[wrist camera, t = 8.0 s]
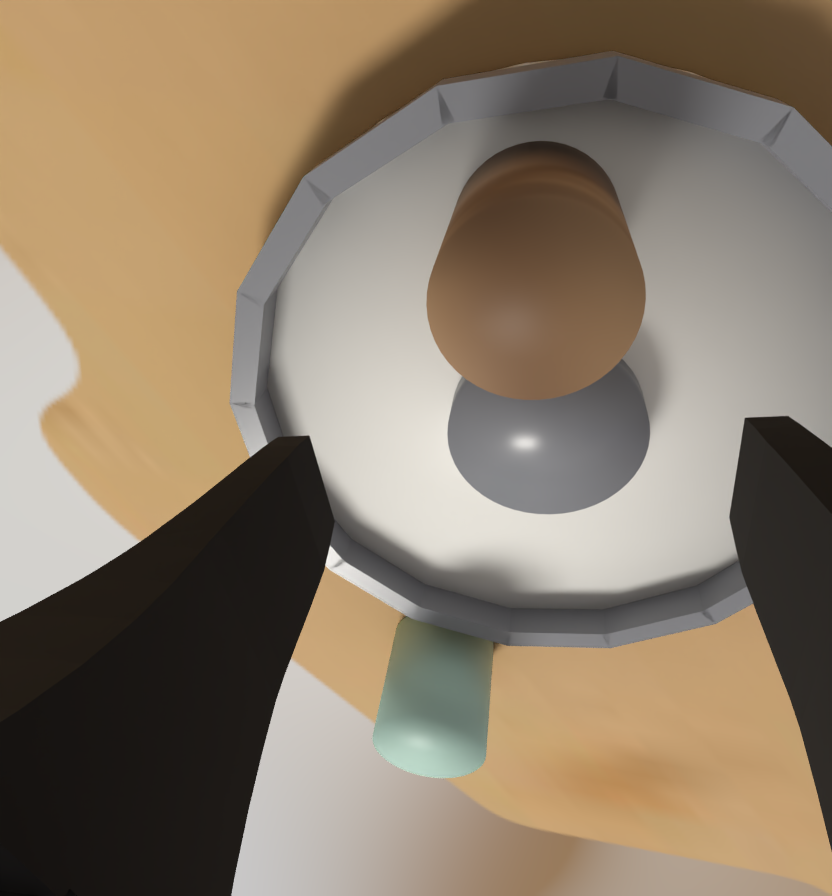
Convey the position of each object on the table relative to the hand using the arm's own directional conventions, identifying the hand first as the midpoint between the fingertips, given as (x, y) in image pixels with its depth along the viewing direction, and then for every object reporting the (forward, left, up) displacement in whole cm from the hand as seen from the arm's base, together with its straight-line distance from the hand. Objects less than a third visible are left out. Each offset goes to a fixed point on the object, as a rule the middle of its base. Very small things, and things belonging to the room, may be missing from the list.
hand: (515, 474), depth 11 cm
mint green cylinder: (+5, +17, -9) cm, 20 cm away
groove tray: (0, +4, -9) cm, 10 cm away
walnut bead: (0, -1, -9) cm, 9 cm away
